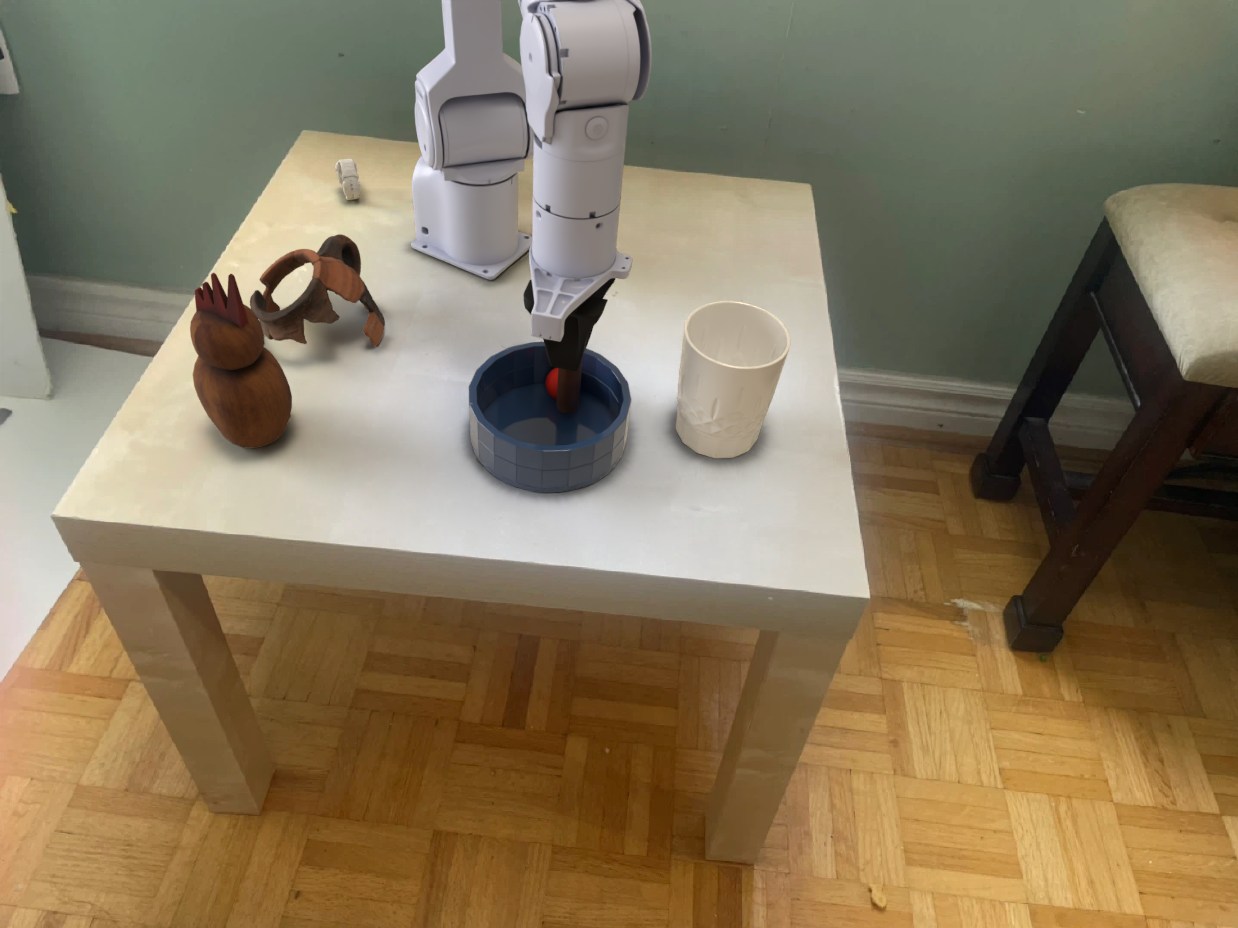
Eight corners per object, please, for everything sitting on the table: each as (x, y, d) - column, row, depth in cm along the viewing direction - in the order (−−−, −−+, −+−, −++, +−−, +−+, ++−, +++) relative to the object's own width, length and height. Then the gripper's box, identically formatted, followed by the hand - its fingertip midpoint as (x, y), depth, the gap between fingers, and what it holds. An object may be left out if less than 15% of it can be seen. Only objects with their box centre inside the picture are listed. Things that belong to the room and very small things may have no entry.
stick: (552, 408, 72) (556, 302, 65) (564, 396, 74) (569, 291, 67) (571, 417, 72) (578, 311, 65) (583, 404, 73) (591, 299, 66)
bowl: (439, 450, 70) (435, 408, 67) (526, 364, 78) (526, 322, 75) (575, 516, 67) (578, 475, 64) (652, 419, 75) (658, 378, 71)
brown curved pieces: (381, 374, 76) (315, 315, 70) (293, 391, 80) (223, 337, 74) (409, 263, 82) (351, 199, 76) (326, 284, 86) (264, 224, 79)
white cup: (737, 480, 71) (762, 383, 63) (650, 436, 73) (664, 339, 66) (780, 422, 76) (807, 326, 68) (696, 384, 78) (715, 287, 71)
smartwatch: (365, 205, 93) (360, 168, 90) (343, 207, 92) (337, 171, 89) (359, 187, 95) (354, 151, 92) (337, 189, 94) (332, 153, 91)
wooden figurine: (313, 436, 70) (276, 273, 59) (244, 472, 67) (191, 308, 56) (265, 390, 73) (221, 227, 62) (197, 423, 70) (139, 258, 59)
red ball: (557, 406, 72) (533, 391, 74) (579, 406, 75) (556, 391, 76) (569, 375, 72) (545, 359, 73) (591, 376, 74) (568, 361, 75)
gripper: (613, 269, 54) (598, 431, 64) (657, 153, 64) (638, 310, 74) (498, 247, 55) (501, 411, 65) (559, 136, 65) (553, 293, 74)
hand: (568, 356), depth 69 cm, fingers closed on stick, 2 cm apart
